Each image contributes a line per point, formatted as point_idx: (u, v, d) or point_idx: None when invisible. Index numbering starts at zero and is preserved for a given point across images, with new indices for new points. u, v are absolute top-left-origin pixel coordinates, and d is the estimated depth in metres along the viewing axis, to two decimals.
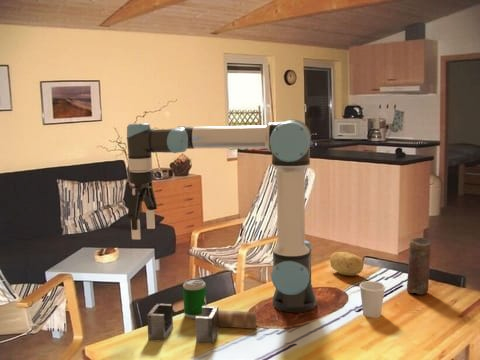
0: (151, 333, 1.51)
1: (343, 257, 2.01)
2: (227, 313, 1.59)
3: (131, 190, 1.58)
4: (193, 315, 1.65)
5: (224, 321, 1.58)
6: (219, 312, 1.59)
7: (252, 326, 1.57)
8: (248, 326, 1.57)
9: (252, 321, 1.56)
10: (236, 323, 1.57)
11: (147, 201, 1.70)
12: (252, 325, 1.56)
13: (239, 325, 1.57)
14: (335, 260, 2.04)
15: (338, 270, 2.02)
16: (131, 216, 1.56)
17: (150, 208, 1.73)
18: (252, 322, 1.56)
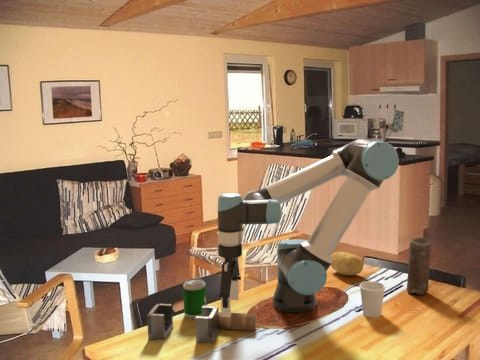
0: (151, 333, 1.51)
1: (343, 257, 2.01)
2: (225, 319, 1.57)
3: (223, 266, 1.50)
4: (193, 315, 1.65)
5: (224, 327, 1.57)
6: None
7: None
8: None
9: (251, 327, 1.55)
10: (235, 328, 1.57)
11: None
12: None
13: (239, 329, 1.57)
14: (335, 260, 2.04)
15: (338, 270, 2.02)
16: (224, 294, 1.48)
17: (234, 278, 1.65)
18: (252, 328, 1.55)
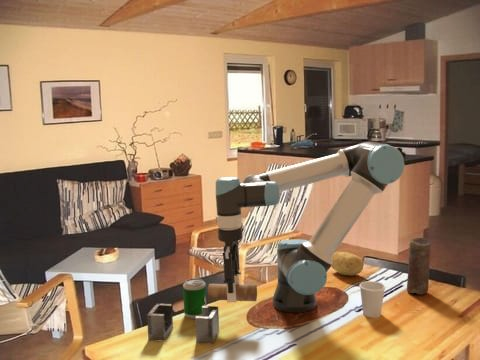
0: (151, 333, 1.51)
1: (343, 257, 2.01)
2: None
3: (224, 255, 1.50)
4: (193, 315, 1.65)
5: (225, 296, 1.57)
6: (219, 287, 1.58)
7: (253, 300, 1.56)
8: (249, 300, 1.56)
9: (253, 296, 1.55)
10: (236, 298, 1.56)
11: None
12: (253, 299, 1.55)
13: (240, 299, 1.56)
14: (335, 260, 2.04)
15: (338, 270, 2.02)
16: (228, 280, 1.52)
17: (234, 272, 1.61)
18: (253, 297, 1.55)
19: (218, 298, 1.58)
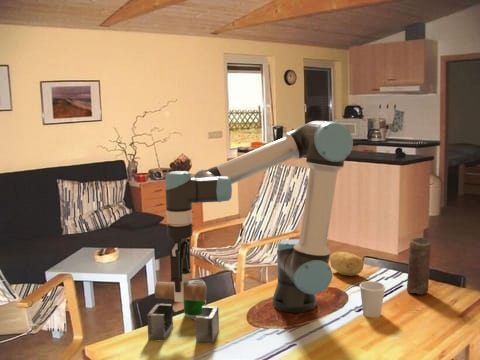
0: (151, 333, 1.51)
1: (343, 257, 2.01)
2: None
3: (171, 252, 1.44)
4: (193, 315, 1.65)
5: (172, 295, 1.50)
6: (167, 285, 1.51)
7: (201, 300, 1.49)
8: (197, 300, 1.50)
9: (201, 295, 1.49)
10: (184, 297, 1.50)
11: (182, 261, 1.53)
12: (201, 299, 1.49)
13: (188, 299, 1.50)
14: (335, 260, 2.04)
15: (338, 270, 2.02)
16: (175, 278, 1.45)
17: (184, 271, 1.54)
18: (201, 296, 1.49)
19: (165, 297, 1.51)
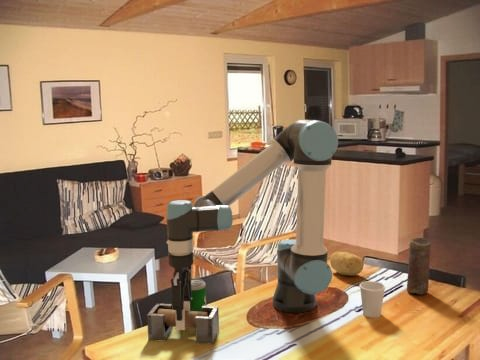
0: (151, 333, 1.51)
1: (343, 257, 2.01)
2: None
3: (172, 282, 1.45)
4: None
5: (174, 323, 1.52)
6: (168, 313, 1.53)
7: None
8: None
9: None
10: (185, 325, 1.51)
11: (183, 288, 1.54)
12: None
13: (189, 326, 1.51)
14: (335, 260, 2.04)
15: (338, 270, 2.02)
16: (177, 307, 1.47)
17: (185, 298, 1.56)
18: None
19: (167, 324, 1.52)
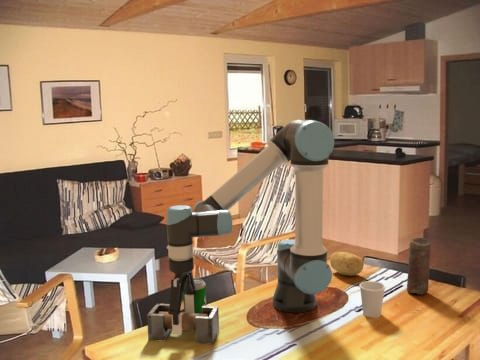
0: (151, 333, 1.51)
1: (343, 257, 2.01)
2: None
3: (172, 282, 1.45)
4: None
5: None
6: (168, 315, 1.53)
7: None
8: None
9: None
10: (185, 326, 1.51)
11: (186, 287, 1.57)
12: None
13: (189, 328, 1.52)
14: (335, 260, 2.04)
15: (338, 270, 2.02)
16: (173, 311, 1.43)
17: (189, 293, 1.60)
18: None
19: (167, 326, 1.53)
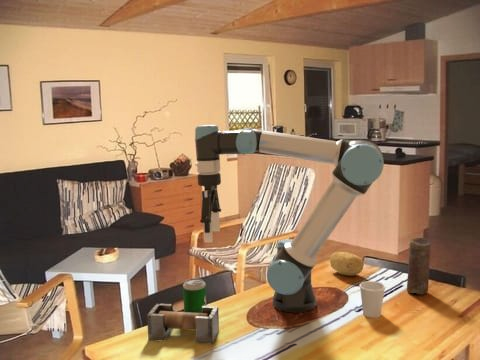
0: (151, 333, 1.51)
1: (343, 257, 2.01)
2: (177, 314, 1.53)
3: (203, 192, 1.57)
4: None
5: (174, 322, 1.52)
6: (169, 313, 1.54)
7: None
8: None
9: None
10: (186, 324, 1.52)
11: (213, 204, 1.69)
12: None
13: (189, 326, 1.52)
14: (335, 260, 2.04)
15: (338, 270, 2.02)
16: (205, 219, 1.55)
17: (215, 210, 1.72)
18: None
19: (167, 325, 1.53)
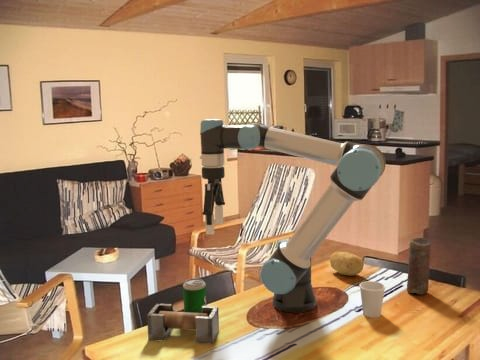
0: (151, 333, 1.51)
1: (343, 257, 2.01)
2: (177, 314, 1.53)
3: (206, 185, 1.59)
4: None
5: (174, 322, 1.52)
6: (169, 313, 1.54)
7: None
8: None
9: None
10: (186, 324, 1.52)
11: (216, 197, 1.71)
12: None
13: (189, 327, 1.52)
14: (335, 260, 2.04)
15: (338, 270, 2.02)
16: (207, 211, 1.57)
17: (218, 204, 1.74)
18: None
19: (167, 325, 1.53)
